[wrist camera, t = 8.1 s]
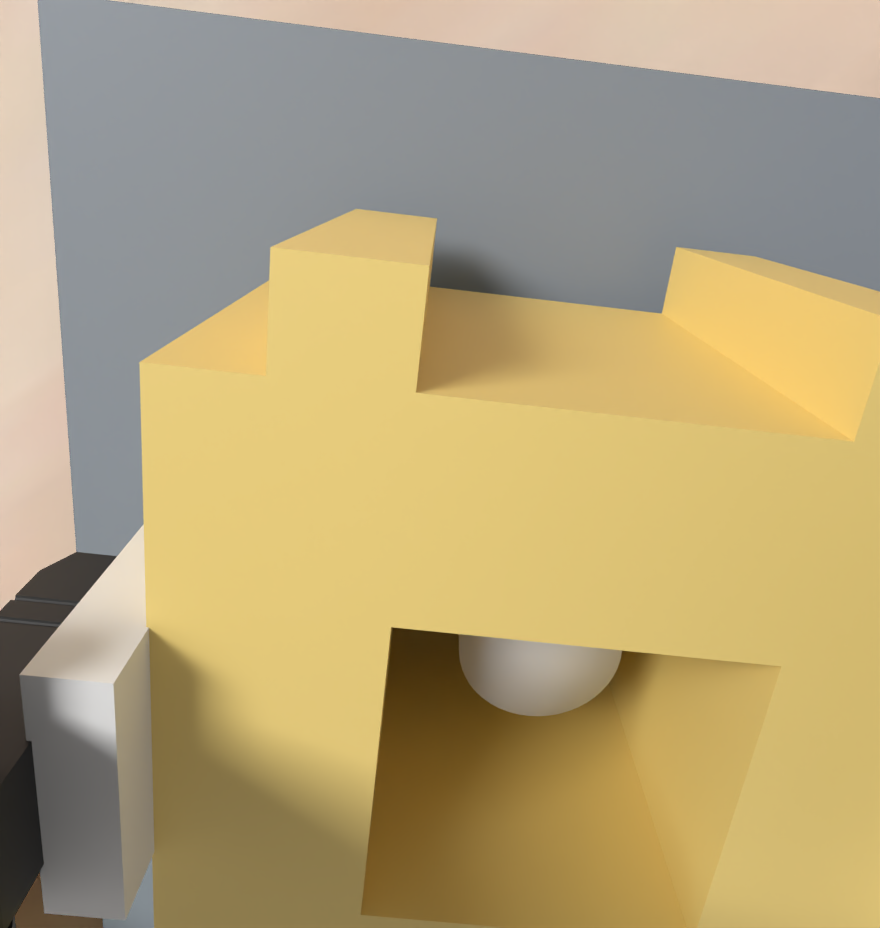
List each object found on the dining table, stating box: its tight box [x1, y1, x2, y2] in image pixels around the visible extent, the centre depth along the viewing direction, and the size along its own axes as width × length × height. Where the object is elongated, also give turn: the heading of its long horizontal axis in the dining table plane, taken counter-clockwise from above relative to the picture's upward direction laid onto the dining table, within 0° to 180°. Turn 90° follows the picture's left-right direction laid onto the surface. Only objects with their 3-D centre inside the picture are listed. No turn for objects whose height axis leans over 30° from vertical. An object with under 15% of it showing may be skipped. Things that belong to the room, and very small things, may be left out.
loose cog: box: [139, 209, 880, 928], centre depth 10 cm, size 10×8×6 cm
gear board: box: [38, 0, 880, 928], centre depth 14 cm, size 24×16×8 cm, turn 174°
